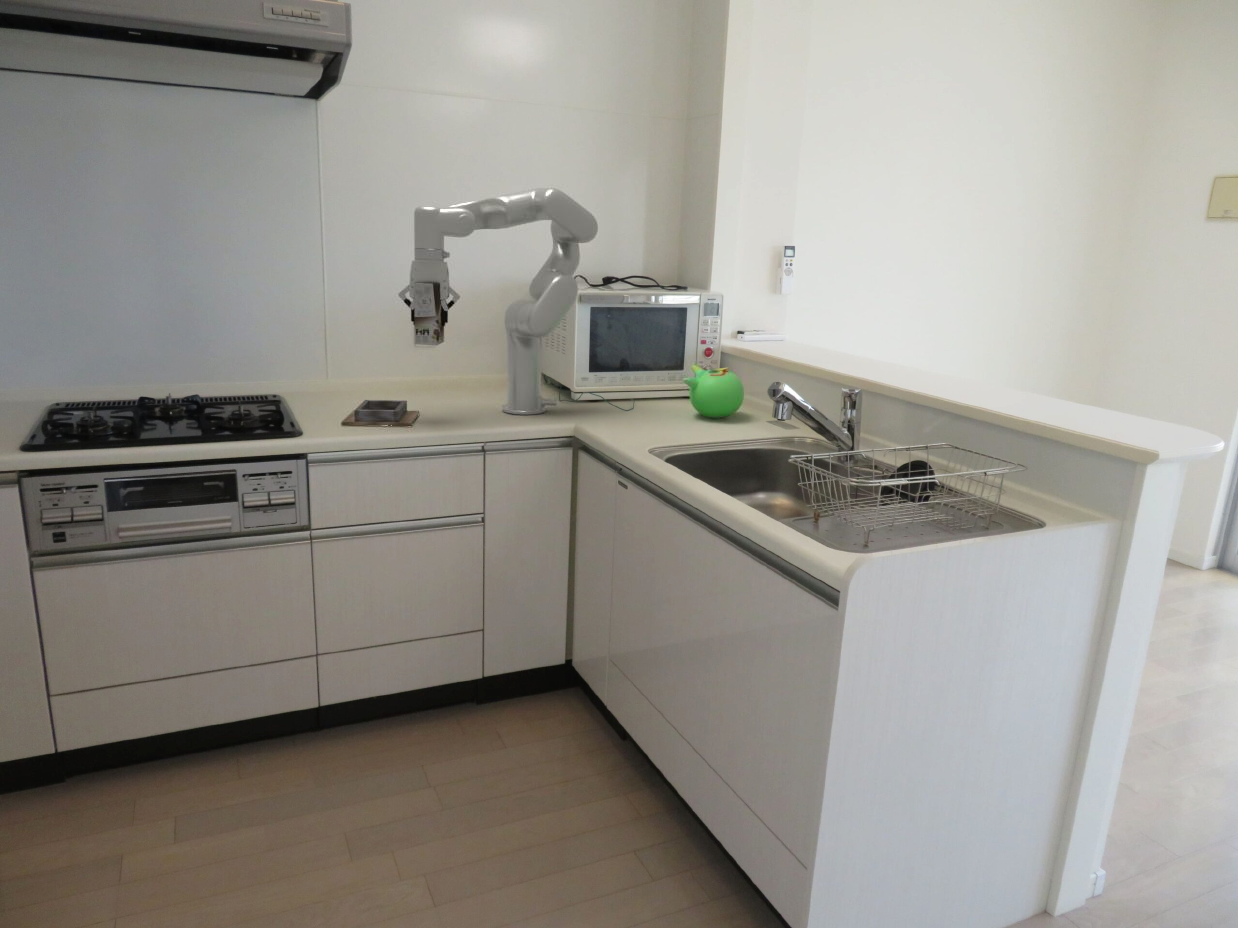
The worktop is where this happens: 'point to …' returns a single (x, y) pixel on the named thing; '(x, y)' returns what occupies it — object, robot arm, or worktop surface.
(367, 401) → the dock
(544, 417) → the worktop surface
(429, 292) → the coffee box
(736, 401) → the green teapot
